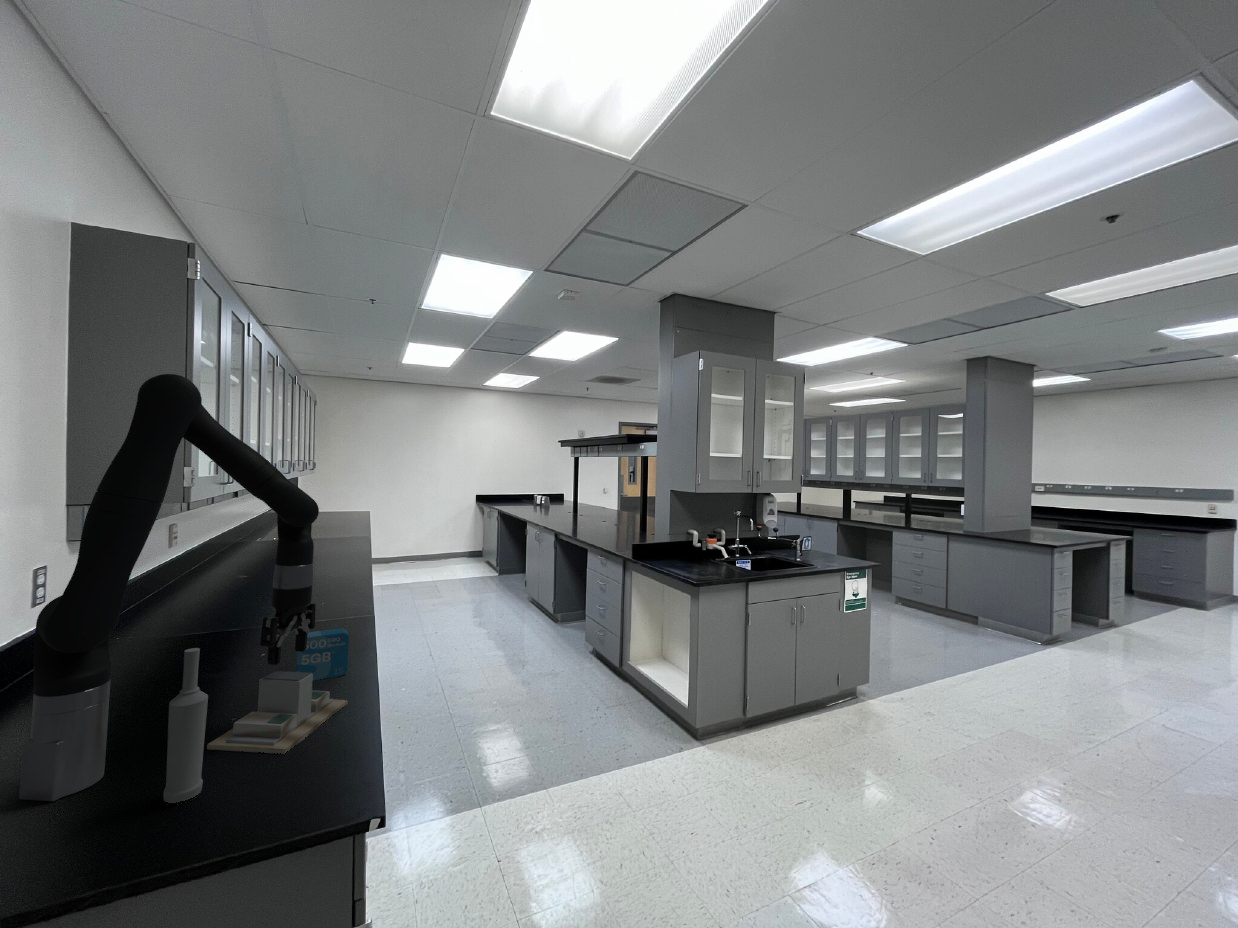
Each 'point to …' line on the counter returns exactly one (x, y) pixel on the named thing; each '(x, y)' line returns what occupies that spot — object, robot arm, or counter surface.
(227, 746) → the rail board
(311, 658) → the data package
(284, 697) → the block
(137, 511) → the robot arm
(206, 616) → the counter surface
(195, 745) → the bottle
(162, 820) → the counter surface
